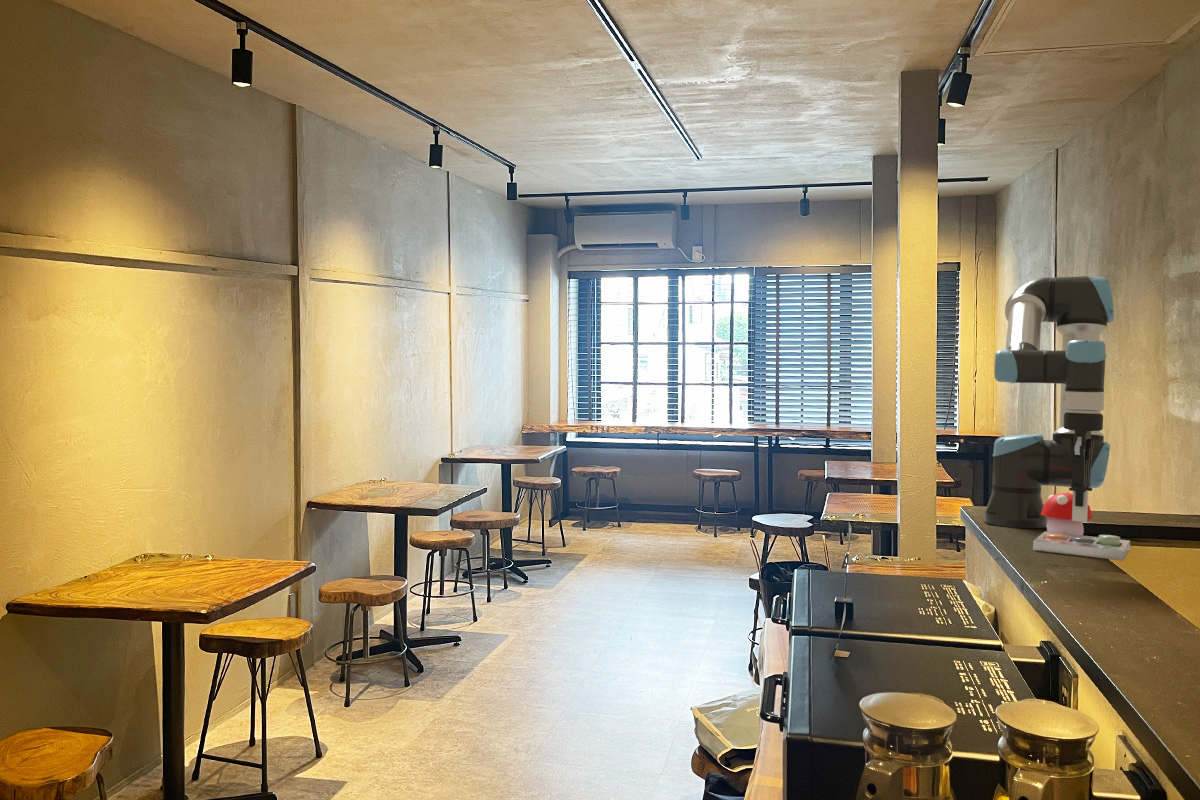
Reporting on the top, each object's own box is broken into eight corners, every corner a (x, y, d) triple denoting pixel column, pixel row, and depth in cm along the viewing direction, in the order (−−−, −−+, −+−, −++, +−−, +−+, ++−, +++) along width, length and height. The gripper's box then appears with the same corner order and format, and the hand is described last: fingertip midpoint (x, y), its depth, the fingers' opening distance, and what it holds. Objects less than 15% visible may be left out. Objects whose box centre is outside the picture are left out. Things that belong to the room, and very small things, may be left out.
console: (1044, 546, 212) (1044, 531, 212) (1129, 556, 203) (1130, 540, 202) (1032, 556, 201) (1033, 540, 201) (1122, 567, 191) (1123, 550, 191)
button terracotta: (1046, 542, 207) (1047, 532, 207) (1066, 545, 205) (1067, 535, 205) (1043, 545, 204) (1044, 535, 204) (1063, 547, 202) (1064, 537, 202)
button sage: (1099, 544, 201) (1100, 534, 201) (1120, 546, 199) (1121, 536, 199) (1097, 547, 198) (1097, 536, 198) (1118, 549, 196) (1119, 539, 196)
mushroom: (1056, 538, 224) (1058, 488, 223) (1101, 545, 214) (1103, 494, 214) (1030, 542, 218) (1032, 491, 217) (1076, 550, 209) (1078, 497, 208)
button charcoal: (1072, 545, 204) (1073, 535, 204) (1093, 548, 202) (1093, 537, 202) (1070, 548, 201) (1070, 538, 201) (1090, 550, 199) (1091, 540, 199)
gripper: (1070, 410, 208) (1066, 515, 209) (1058, 411, 197) (1054, 522, 198) (1107, 411, 203) (1103, 519, 204) (1098, 413, 193) (1093, 526, 194)
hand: (1079, 521), depth 201 cm, fingers closed
